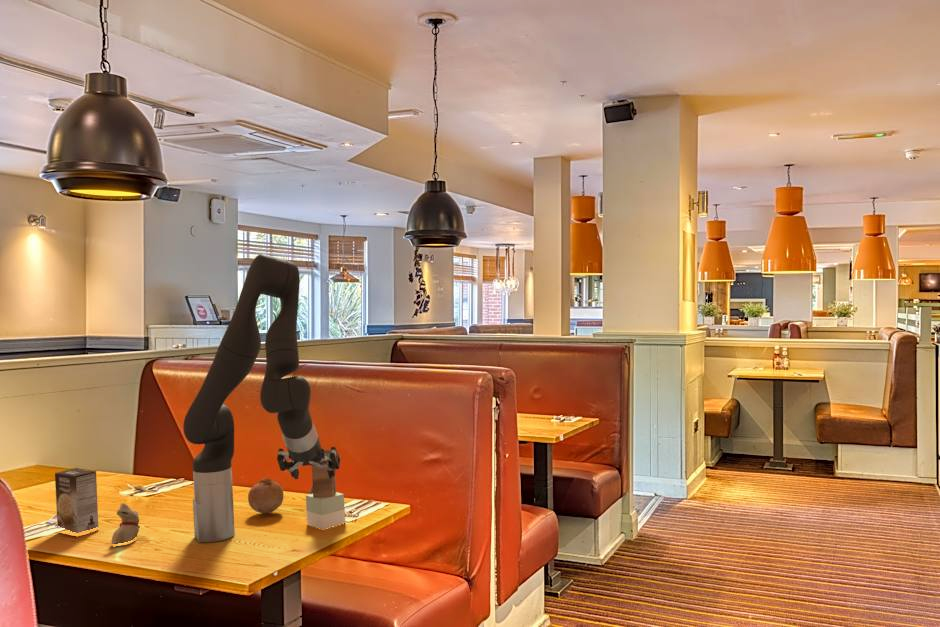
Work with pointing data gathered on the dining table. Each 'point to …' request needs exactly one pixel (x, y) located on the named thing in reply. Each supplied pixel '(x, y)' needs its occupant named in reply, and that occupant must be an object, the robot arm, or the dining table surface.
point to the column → (322, 482)
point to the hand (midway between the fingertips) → (314, 475)
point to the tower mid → (325, 504)
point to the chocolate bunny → (126, 525)
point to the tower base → (326, 519)
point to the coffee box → (76, 499)
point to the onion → (265, 496)
